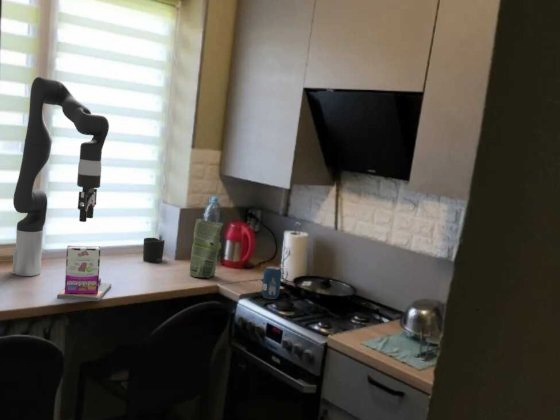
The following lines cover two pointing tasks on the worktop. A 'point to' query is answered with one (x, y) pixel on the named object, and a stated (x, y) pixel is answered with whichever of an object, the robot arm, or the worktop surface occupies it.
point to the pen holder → (153, 250)
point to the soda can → (271, 282)
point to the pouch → (205, 248)
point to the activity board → (88, 297)
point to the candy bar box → (82, 270)
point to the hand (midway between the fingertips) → (86, 219)
